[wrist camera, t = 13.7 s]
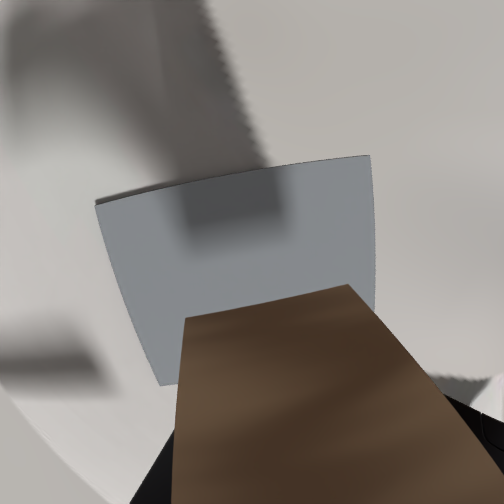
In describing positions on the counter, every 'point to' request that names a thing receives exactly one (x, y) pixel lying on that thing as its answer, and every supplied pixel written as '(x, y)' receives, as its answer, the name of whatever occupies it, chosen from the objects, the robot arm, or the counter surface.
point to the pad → (238, 245)
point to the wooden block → (316, 412)
